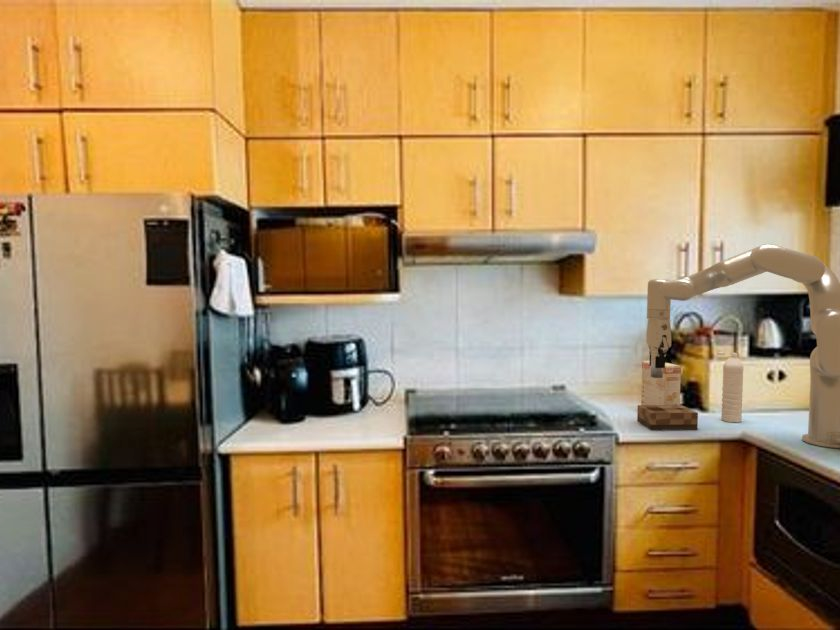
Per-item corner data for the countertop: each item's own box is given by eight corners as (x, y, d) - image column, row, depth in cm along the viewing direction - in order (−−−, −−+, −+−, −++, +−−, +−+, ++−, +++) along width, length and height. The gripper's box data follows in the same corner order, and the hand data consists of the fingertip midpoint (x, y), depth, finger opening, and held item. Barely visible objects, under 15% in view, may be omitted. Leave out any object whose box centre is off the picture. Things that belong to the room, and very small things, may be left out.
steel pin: (664, 378, 200) (665, 343, 199) (653, 378, 200) (654, 343, 199) (659, 376, 204) (660, 342, 203) (648, 376, 204) (649, 342, 203)
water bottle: (738, 418, 213) (740, 351, 211) (743, 423, 207) (746, 354, 205) (712, 417, 215) (714, 351, 213) (717, 421, 209) (719, 353, 207)
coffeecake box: (680, 417, 216) (681, 365, 215) (663, 418, 214) (664, 366, 213) (656, 408, 230) (657, 359, 229) (640, 409, 229) (641, 360, 228)
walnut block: (697, 430, 198) (697, 412, 197) (651, 430, 197) (651, 413, 197) (680, 421, 209) (681, 405, 209) (637, 421, 209) (637, 405, 209)
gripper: (680, 316, 192) (678, 370, 194) (658, 313, 209) (657, 363, 210) (658, 316, 192) (656, 370, 193) (638, 313, 209) (636, 363, 210)
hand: (657, 366), depth 202 cm, fingers closed on steel pin, 4 cm apart
